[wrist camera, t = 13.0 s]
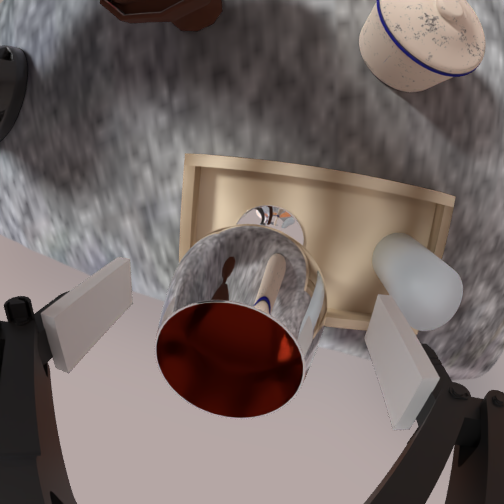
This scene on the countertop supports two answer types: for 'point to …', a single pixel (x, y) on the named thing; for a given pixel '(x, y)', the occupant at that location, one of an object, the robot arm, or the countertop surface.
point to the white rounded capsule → (417, 281)
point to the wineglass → (243, 317)
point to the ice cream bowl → (167, 12)
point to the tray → (317, 219)
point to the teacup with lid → (421, 42)
